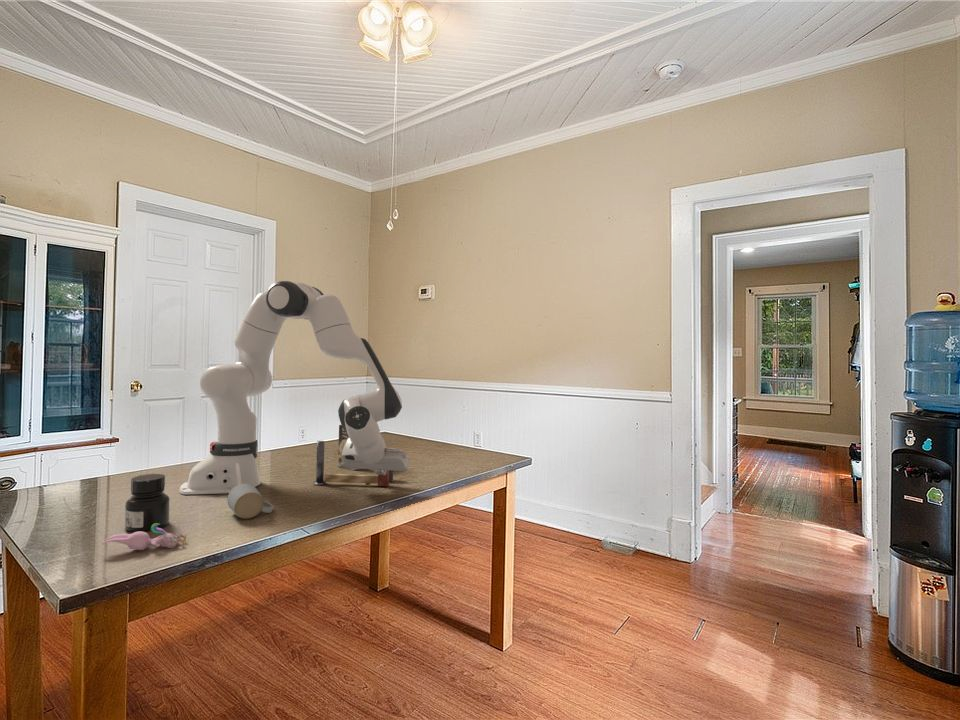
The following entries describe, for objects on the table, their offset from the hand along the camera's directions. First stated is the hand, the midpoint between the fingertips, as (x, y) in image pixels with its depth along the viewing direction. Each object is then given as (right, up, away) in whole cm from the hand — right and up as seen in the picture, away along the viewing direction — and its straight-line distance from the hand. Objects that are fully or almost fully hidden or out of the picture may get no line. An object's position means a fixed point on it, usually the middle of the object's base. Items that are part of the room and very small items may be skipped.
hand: (381, 473), depth 154 cm
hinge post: (-21, -4, +3) cm, 22 cm away
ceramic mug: (-29, -5, -27) cm, 40 cm away
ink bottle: (-50, -4, -37) cm, 62 cm away
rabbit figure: (-41, -5, -50) cm, 65 cm away
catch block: (0, -5, +9) cm, 10 cm away
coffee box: (-17, -4, +26) cm, 31 cm away
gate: (-9, -4, +3) cm, 10 cm away
